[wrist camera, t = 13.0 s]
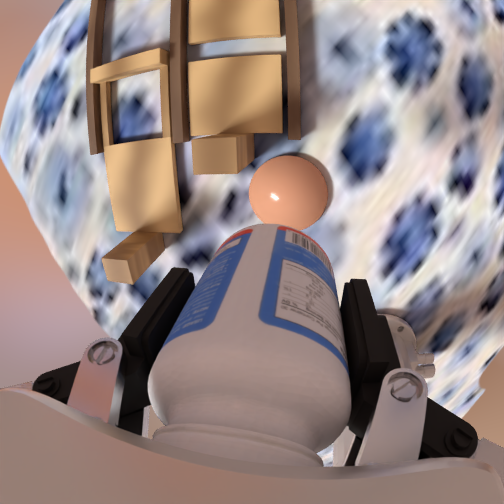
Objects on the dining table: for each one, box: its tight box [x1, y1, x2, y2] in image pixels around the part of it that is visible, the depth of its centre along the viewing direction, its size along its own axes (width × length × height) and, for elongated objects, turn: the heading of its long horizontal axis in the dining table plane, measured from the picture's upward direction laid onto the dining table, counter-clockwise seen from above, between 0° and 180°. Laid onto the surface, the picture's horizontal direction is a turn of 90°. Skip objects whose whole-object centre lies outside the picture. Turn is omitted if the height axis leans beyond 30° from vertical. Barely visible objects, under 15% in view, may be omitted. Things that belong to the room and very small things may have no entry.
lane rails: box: [86, 0, 301, 155], centre depth 19 cm, size 21×20×2 cm
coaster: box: [249, 155, 328, 230], centre depth 25 cm, size 7×7×1 cm
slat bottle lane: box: [90, 48, 183, 284], centre depth 22 cm, size 8×20×7 cm, turn 2°
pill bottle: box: [148, 224, 351, 467], centre depth 8 cm, size 6×5×10 cm
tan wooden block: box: [188, 55, 283, 175], centre depth 19 cm, size 8×9×7 cm
